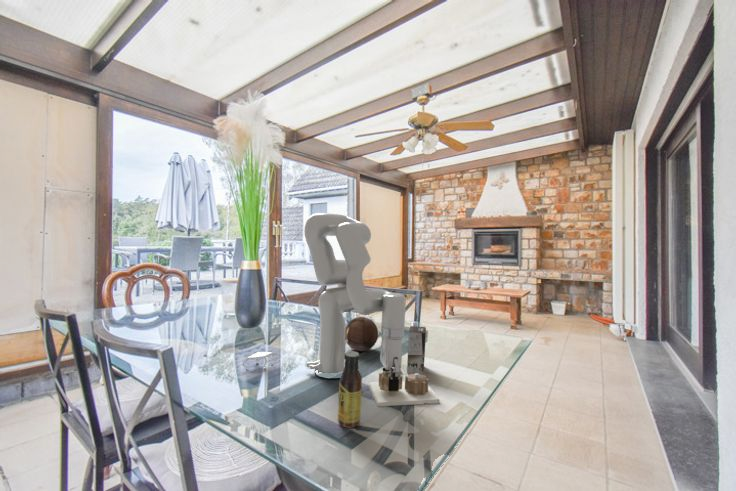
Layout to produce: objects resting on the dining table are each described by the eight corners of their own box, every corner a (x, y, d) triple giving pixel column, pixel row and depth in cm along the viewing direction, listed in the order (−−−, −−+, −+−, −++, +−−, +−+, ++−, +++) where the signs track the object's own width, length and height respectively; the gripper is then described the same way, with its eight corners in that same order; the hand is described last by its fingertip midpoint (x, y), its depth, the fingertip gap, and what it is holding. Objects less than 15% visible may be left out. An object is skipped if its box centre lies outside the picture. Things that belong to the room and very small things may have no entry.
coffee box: (423, 375, 129) (425, 333, 129) (406, 373, 131) (408, 331, 130) (424, 366, 138) (426, 326, 138) (408, 364, 140) (410, 325, 139)
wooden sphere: (376, 345, 161) (377, 313, 161) (378, 356, 146) (380, 322, 146) (344, 344, 161) (345, 312, 160) (343, 356, 146) (344, 321, 145)
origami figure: (263, 360, 138) (263, 347, 138) (277, 365, 133) (277, 352, 133) (237, 369, 128) (237, 356, 128) (251, 375, 123) (251, 361, 123)
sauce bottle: (337, 416, 98) (340, 348, 97) (359, 416, 99) (362, 348, 98) (337, 430, 92) (340, 357, 91) (360, 429, 92) (363, 357, 91)
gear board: (377, 406, 105) (378, 385, 105) (369, 385, 119) (369, 366, 118) (439, 402, 109) (440, 382, 108) (423, 383, 122) (424, 364, 122)
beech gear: (381, 393, 108) (382, 379, 108) (376, 383, 115) (377, 370, 115) (404, 392, 109) (405, 379, 109) (398, 382, 117) (398, 369, 116)
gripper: (375, 324, 119) (373, 374, 120) (388, 340, 102) (385, 398, 103) (396, 324, 121) (394, 373, 122) (412, 340, 104) (409, 397, 104)
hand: (390, 384), depth 112 cm, fingers closed on beech gear, 7 cm apart
